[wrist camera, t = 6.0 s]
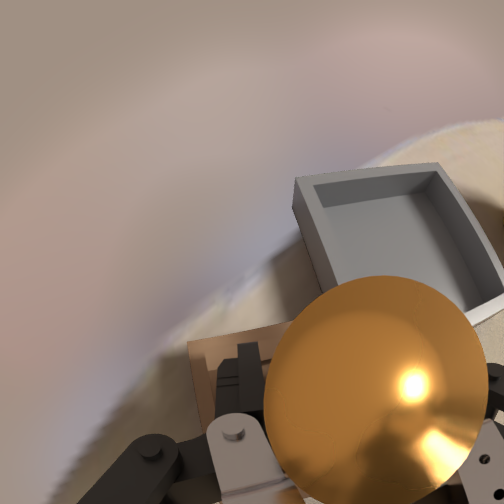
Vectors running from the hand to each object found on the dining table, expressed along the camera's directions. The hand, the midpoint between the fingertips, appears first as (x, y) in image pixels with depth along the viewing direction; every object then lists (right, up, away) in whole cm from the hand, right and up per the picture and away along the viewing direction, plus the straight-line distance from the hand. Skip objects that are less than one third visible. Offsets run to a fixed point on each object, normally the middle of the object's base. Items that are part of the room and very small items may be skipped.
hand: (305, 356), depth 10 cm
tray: (+10, +3, +11) cm, 15 cm away
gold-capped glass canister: (0, -4, +3) cm, 6 cm away
